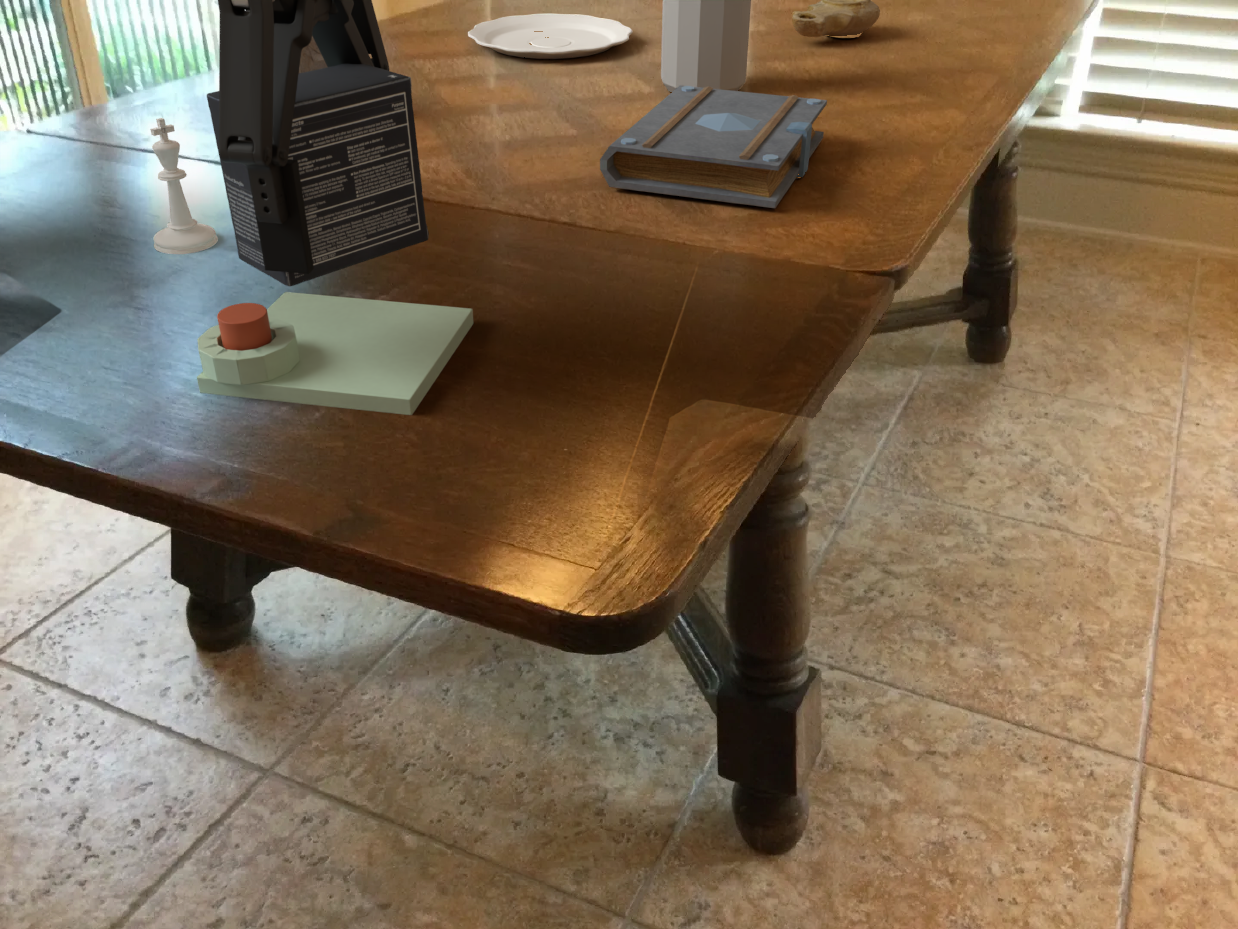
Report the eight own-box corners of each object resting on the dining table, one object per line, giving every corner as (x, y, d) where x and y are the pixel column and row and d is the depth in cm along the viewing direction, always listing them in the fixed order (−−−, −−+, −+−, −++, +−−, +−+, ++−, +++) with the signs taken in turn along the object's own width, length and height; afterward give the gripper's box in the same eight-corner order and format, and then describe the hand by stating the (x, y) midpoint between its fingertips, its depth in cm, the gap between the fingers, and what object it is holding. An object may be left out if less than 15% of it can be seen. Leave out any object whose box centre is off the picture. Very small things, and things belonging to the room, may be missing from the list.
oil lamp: (785, 48, 149) (789, 7, 146) (802, 24, 160) (806, -15, 158) (869, 54, 146) (874, 12, 144) (880, 29, 158) (885, -10, 155)
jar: (725, 74, 138) (734, -92, 128) (759, 96, 130) (771, -79, 120) (648, 81, 135) (651, -88, 125) (677, 104, 127) (683, -75, 117)
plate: (490, 23, 160) (490, 10, 159) (640, 29, 157) (640, 16, 156) (451, 60, 142) (450, 46, 141) (619, 68, 140) (619, 53, 139)
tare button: (214, 350, 72) (208, 321, 71) (236, 329, 74) (230, 300, 73) (259, 355, 72) (253, 325, 70) (280, 333, 74) (275, 304, 73)
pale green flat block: (189, 396, 72) (180, 354, 71) (281, 306, 84) (275, 267, 82) (409, 419, 70) (404, 376, 69) (473, 323, 81) (471, 284, 80)
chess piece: (142, 243, 93) (113, 119, 88) (197, 226, 96) (173, 105, 91) (173, 260, 90) (146, 132, 85) (229, 242, 93) (206, 118, 88)
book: (670, 124, 121) (671, 75, 118) (827, 142, 116) (832, 91, 113) (600, 190, 104) (599, 134, 101) (779, 213, 100) (784, 156, 97)
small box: (374, 214, 79) (356, 55, 73) (432, 241, 75) (418, 75, 69) (233, 258, 72) (200, 87, 67) (288, 289, 68) (259, 111, 63)
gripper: (303, -180, 71) (347, 165, 83) (81, -139, 52) (180, 306, 63) (419, -177, 70) (447, 172, 82) (238, -135, 50) (309, 317, 62)
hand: (331, 231), depth 73 cm, fingers closed on small box, 12 cm apart
